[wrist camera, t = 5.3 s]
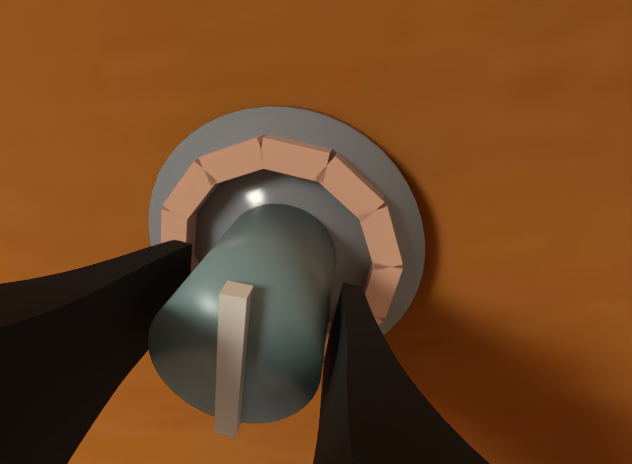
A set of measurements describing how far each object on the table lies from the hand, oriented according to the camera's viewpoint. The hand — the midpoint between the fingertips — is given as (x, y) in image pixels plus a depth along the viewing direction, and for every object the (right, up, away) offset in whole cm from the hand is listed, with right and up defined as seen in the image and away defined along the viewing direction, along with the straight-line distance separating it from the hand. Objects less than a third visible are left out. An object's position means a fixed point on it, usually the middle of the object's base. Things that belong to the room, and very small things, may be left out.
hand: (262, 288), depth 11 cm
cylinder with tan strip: (0, +1, +2) cm, 2 cm away
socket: (0, +1, +3) cm, 3 cm away
